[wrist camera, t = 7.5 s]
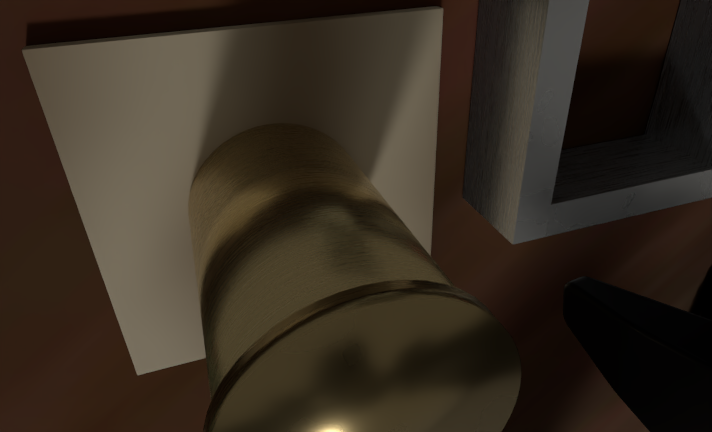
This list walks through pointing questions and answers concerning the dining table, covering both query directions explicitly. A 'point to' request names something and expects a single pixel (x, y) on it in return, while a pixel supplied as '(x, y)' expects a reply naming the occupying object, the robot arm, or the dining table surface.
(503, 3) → the housing
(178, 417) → the dining table surface
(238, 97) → the coaster
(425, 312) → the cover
